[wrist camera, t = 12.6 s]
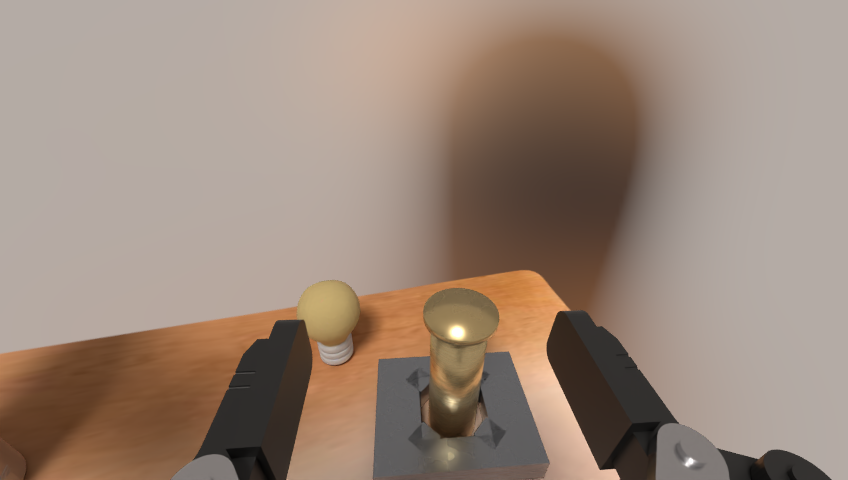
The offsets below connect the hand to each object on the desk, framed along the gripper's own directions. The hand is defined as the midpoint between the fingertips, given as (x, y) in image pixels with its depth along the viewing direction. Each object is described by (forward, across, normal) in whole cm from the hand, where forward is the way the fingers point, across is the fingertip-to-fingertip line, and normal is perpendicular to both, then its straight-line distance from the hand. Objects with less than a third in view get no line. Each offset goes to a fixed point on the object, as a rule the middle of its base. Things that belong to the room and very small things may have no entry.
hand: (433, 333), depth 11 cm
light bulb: (+18, +8, +24) cm, 31 cm away
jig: (+10, -4, +24) cm, 26 cm away
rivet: (+10, -4, +24) cm, 26 cm away
